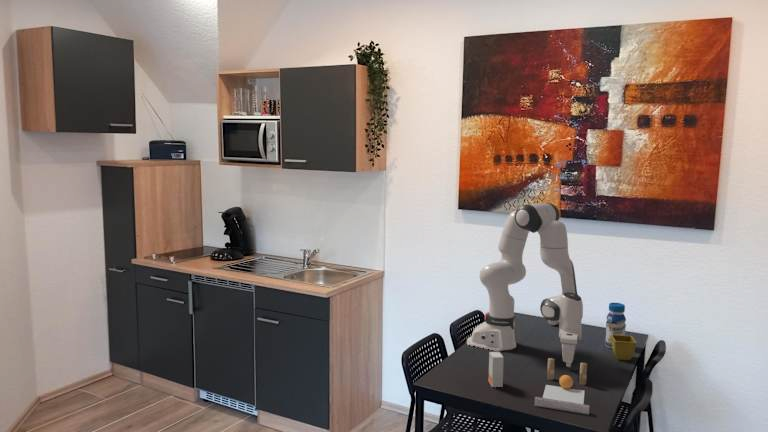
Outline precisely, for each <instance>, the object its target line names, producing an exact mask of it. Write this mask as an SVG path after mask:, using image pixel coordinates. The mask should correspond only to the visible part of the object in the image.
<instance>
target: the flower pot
mask: <svg viewBox="0 0 768 432" xmlns="http://www.w3.org/2000/svg"><path fill="white" fill-rule="evenodd" d="M611 340H612V348H611V349H612V352H613V355H614V356H615V358H616V360H618V361H619V360H620V361H630V360H631V359H632V358H633V356H634V354H635V352H636V347H637V341H636V340H635V338H634V337H633V336H632V335H625V336H623V335H611Z"/></svg>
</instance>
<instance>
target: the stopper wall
mask: <svg viewBox="0 0 768 432" xmlns="http://www.w3.org/2000/svg"><path fill="white" fill-rule="evenodd" d="M533 406H534V407H539V408H540V407H541V408H547V409H552V410H557V411H563V412H564V411H565V412H570V413H576V414H582V415H590V404H585V403H584V404H578V403H572V402H565V401H559V400H553V399H547V398H543V397H542V396H541V397H540V396H534V405H533Z"/></svg>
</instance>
